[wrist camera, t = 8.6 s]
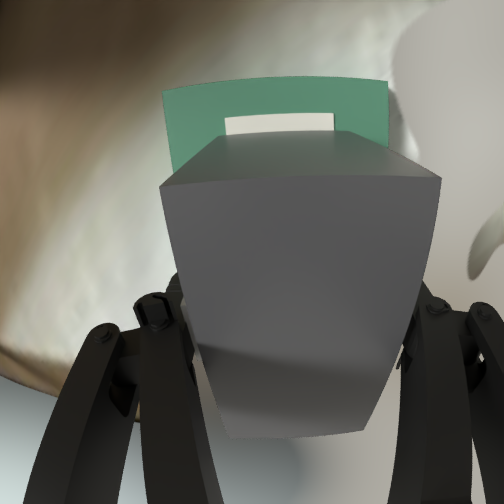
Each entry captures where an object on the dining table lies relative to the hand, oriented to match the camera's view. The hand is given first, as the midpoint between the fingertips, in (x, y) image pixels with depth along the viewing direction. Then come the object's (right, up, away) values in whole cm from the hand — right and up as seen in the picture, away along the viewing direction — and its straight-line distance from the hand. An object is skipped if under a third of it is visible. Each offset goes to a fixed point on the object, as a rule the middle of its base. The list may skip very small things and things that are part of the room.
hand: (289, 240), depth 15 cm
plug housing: (0, 0, 0) cm, 0 cm away
